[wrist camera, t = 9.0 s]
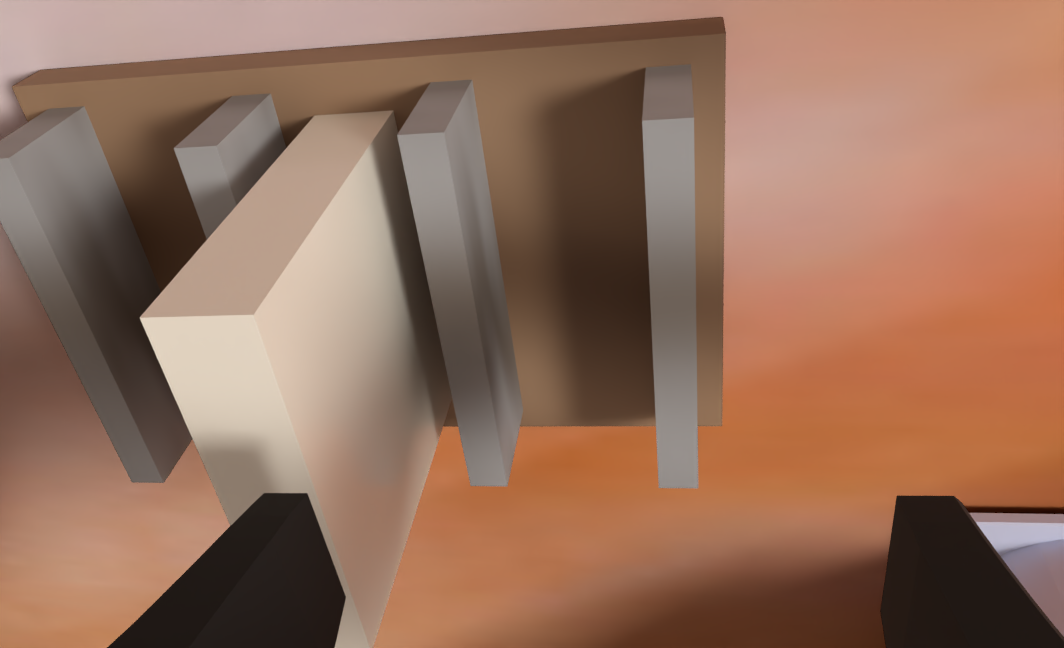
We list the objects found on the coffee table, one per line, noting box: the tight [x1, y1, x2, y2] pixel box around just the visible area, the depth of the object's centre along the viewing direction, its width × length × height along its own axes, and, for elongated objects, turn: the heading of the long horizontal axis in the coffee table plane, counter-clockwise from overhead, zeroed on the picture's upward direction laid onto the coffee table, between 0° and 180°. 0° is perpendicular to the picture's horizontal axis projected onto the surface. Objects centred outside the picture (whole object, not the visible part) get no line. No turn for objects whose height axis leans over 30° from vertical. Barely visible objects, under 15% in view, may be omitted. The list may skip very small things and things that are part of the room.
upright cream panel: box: [140, 110, 452, 648], centre depth 16 cm, size 7×2×7 cm, turn 7°
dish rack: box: [0, 17, 726, 488], centre depth 18 cm, size 9×14×4 cm, turn 97°
